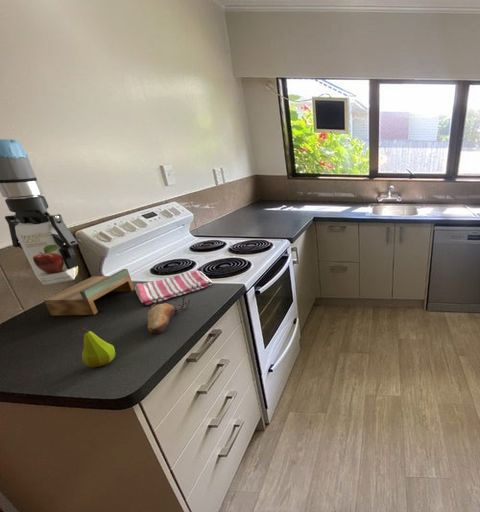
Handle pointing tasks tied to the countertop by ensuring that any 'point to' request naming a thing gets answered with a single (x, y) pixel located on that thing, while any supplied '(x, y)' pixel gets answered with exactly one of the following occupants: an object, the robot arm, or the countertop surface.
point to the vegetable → (161, 316)
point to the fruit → (96, 350)
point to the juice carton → (44, 253)
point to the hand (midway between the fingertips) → (56, 267)
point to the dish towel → (171, 287)
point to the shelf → (87, 294)
